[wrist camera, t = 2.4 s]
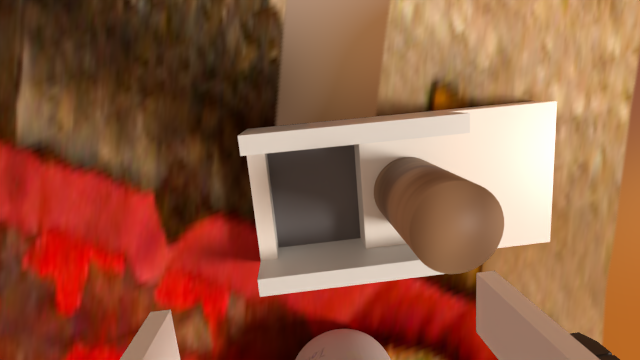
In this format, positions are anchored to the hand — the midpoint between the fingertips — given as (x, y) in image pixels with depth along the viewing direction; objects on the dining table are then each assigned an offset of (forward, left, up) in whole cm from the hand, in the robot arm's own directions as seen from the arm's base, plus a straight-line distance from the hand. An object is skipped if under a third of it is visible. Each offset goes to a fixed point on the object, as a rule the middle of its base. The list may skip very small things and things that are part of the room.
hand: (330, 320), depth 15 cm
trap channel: (+9, 0, -21) cm, 22 cm away
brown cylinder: (+9, 0, -18) cm, 20 cm away
